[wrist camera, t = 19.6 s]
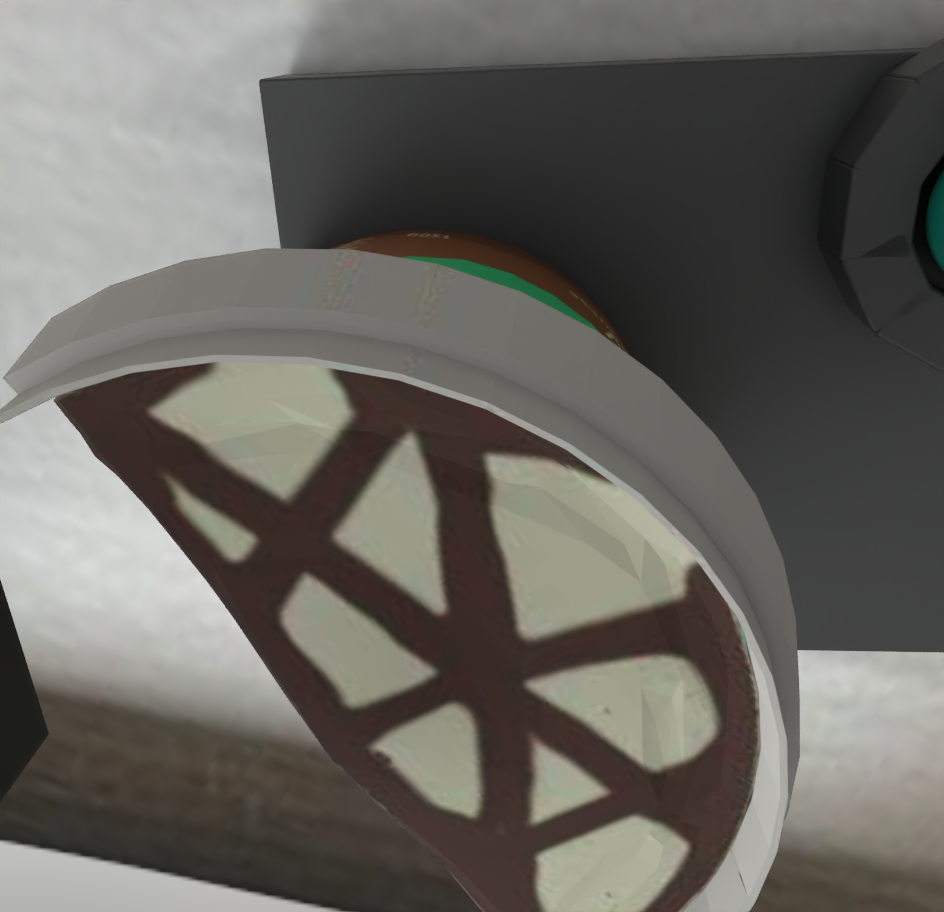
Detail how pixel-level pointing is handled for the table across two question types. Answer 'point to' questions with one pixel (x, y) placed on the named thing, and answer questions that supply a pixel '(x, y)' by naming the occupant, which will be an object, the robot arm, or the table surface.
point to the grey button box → (701, 266)
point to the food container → (464, 554)
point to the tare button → (936, 222)
